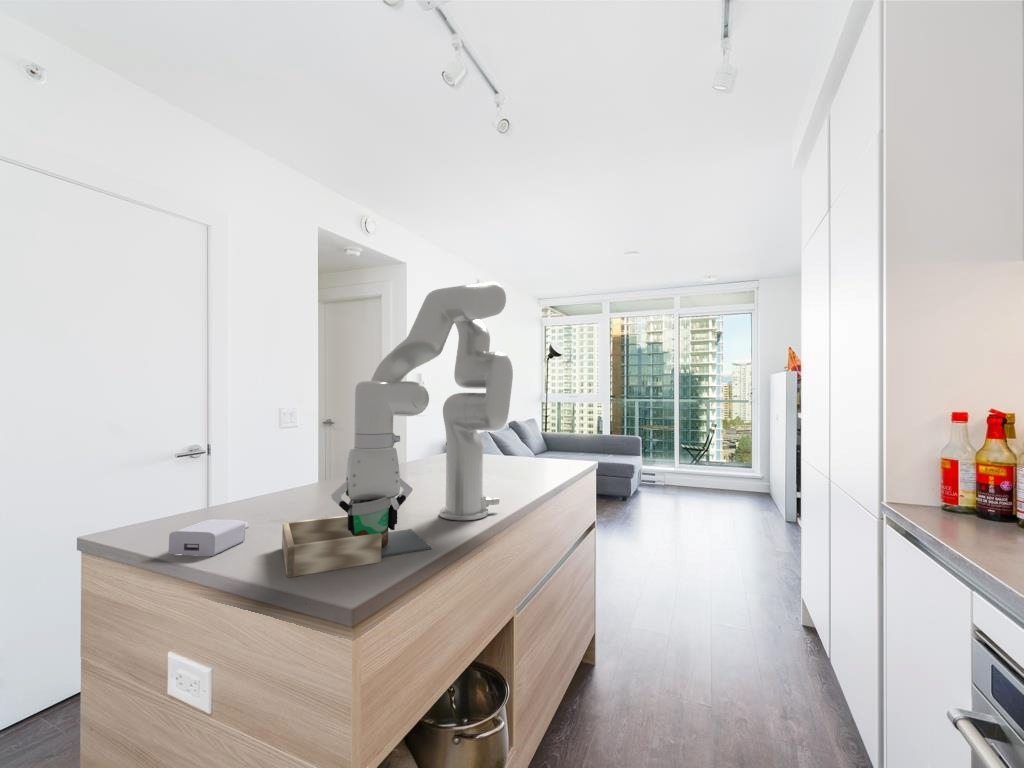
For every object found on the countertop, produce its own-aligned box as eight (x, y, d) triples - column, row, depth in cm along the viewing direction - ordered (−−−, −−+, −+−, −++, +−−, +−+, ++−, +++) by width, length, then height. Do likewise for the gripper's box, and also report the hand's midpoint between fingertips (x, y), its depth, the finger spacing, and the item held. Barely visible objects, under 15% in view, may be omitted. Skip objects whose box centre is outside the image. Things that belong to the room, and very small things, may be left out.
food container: (387, 555, 86) (384, 502, 86) (354, 557, 85) (351, 504, 85) (398, 532, 98) (396, 487, 98) (369, 534, 98) (367, 488, 97)
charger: (263, 534, 100) (214, 557, 85) (223, 532, 101) (168, 556, 86) (264, 512, 100) (215, 532, 86) (224, 511, 101) (169, 531, 86)
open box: (362, 536, 98) (362, 513, 98) (381, 561, 83) (381, 534, 83) (282, 548, 90) (282, 522, 91) (287, 577, 76) (288, 547, 76)
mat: (410, 530, 103) (410, 529, 103) (431, 548, 91) (431, 546, 91) (365, 537, 98) (365, 535, 98) (380, 557, 86) (380, 555, 86)
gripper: (410, 438, 99) (409, 521, 99) (325, 442, 91) (324, 532, 90) (421, 441, 93) (420, 530, 92) (330, 446, 84) (329, 543, 84)
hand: (372, 530), depth 91 cm, fingers closed on food container, 6 cm apart
